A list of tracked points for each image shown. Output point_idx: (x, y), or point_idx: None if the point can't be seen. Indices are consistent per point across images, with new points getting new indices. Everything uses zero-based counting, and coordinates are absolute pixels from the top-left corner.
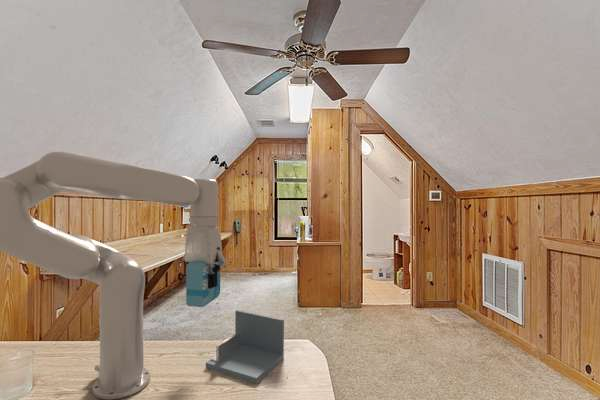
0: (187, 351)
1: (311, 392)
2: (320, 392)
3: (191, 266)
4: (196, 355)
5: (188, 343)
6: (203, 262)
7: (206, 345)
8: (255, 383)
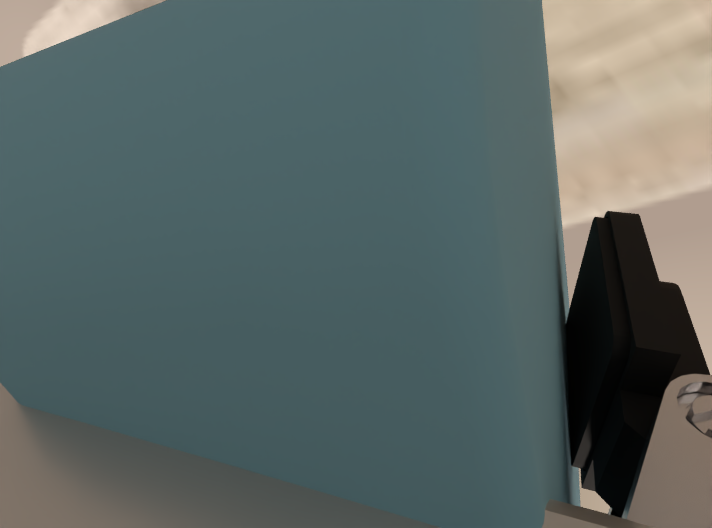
0: (651, 80)
1: (43, 35)
2: (29, 49)
3: (195, 38)
4: (571, 66)
5: (700, 157)
6: (28, 388)
7: (580, 173)
8: None
